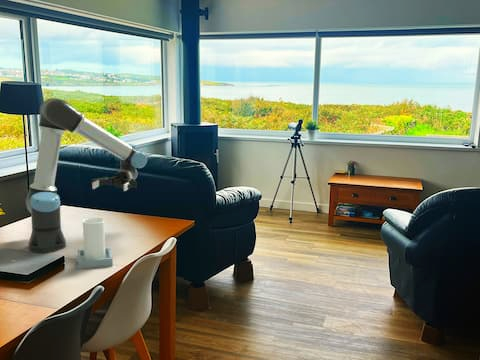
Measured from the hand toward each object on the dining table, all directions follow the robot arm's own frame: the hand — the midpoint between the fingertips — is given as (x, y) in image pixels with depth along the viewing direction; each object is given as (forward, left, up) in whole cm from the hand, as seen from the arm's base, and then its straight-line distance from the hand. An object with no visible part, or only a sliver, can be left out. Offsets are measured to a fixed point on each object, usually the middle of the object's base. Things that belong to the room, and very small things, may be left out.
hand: (108, 186), depth 200 cm
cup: (-7, -15, -27) cm, 31 cm away
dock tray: (-7, -15, -28) cm, 32 cm away
